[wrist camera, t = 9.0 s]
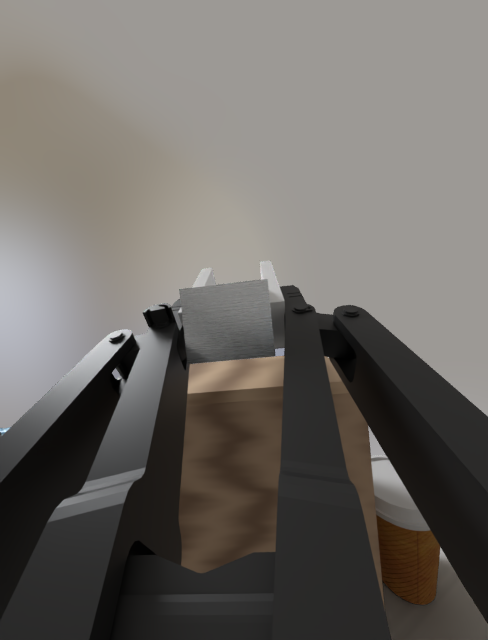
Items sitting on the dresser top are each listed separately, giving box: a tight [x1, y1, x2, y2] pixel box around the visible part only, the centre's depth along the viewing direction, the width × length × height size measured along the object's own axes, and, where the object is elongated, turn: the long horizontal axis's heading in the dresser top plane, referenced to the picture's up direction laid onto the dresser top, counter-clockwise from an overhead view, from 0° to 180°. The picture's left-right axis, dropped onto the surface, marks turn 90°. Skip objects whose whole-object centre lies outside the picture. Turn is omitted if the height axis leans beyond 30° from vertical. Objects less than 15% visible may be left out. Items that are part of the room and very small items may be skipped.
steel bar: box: [179, 279, 275, 364], centre depth 19 cm, size 4×22×3 cm, turn 176°
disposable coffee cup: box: [371, 455, 440, 605], centre depth 27 cm, size 10×10×12 cm
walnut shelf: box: [179, 356, 385, 609], centre depth 24 cm, size 22×12×28 cm, turn 86°
